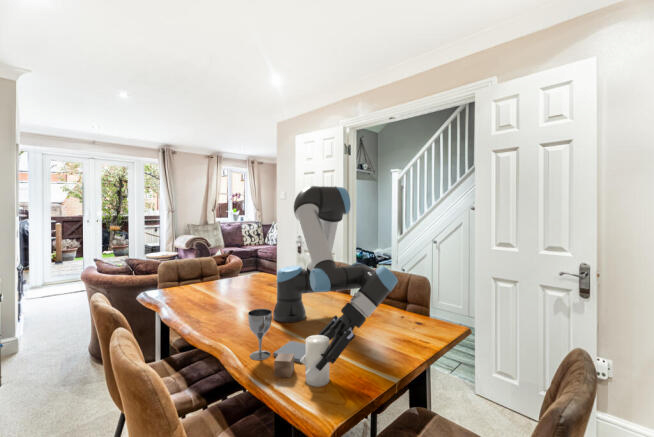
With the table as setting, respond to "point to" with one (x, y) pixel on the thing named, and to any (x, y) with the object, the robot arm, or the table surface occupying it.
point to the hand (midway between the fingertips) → (305, 369)
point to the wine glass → (260, 329)
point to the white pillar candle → (313, 352)
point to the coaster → (293, 350)
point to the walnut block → (284, 365)
